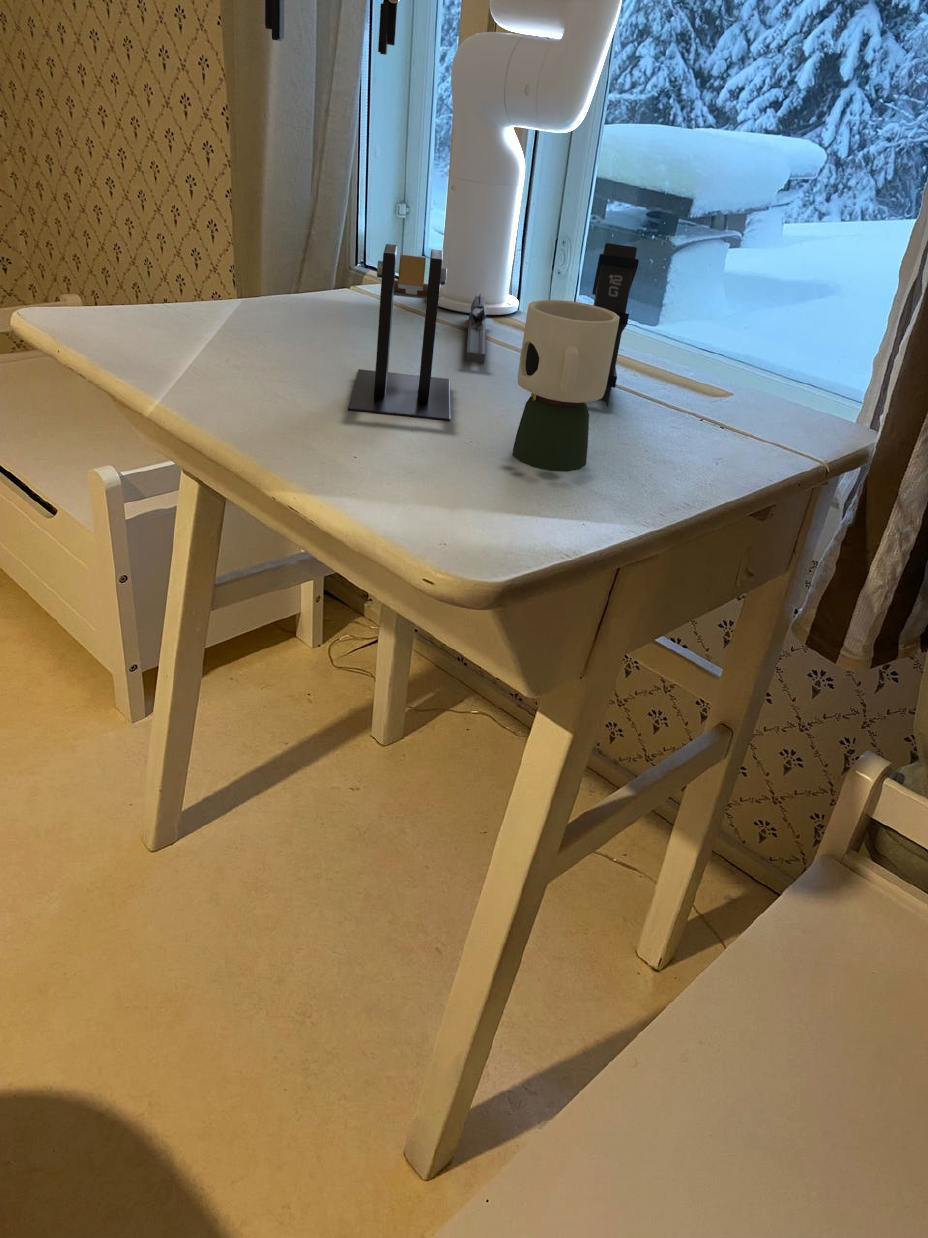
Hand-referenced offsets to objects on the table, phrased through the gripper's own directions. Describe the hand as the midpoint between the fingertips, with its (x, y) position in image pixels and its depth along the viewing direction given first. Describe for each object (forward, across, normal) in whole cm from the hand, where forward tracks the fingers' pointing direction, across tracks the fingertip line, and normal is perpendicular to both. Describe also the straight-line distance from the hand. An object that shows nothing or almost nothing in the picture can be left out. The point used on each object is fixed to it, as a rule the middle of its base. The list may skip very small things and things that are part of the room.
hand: (330, 46), depth 86 cm
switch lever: (+19, -9, +11) cm, 24 cm away
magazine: (+28, -29, +5) cm, 41 cm away
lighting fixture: (+28, -17, -7) cm, 34 cm away
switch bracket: (+28, -9, +16) cm, 33 cm away
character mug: (+28, -22, +28) cm, 45 cm away
